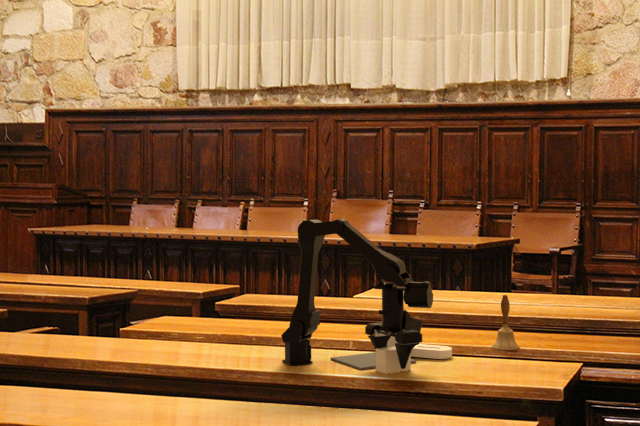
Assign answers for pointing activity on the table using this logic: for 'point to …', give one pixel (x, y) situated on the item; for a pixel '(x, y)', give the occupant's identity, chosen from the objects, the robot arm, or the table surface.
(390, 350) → the card deck box
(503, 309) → the hand bell
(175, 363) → the table surface
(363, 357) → the grey rubber mat
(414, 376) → the table surface
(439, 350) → the bracket
